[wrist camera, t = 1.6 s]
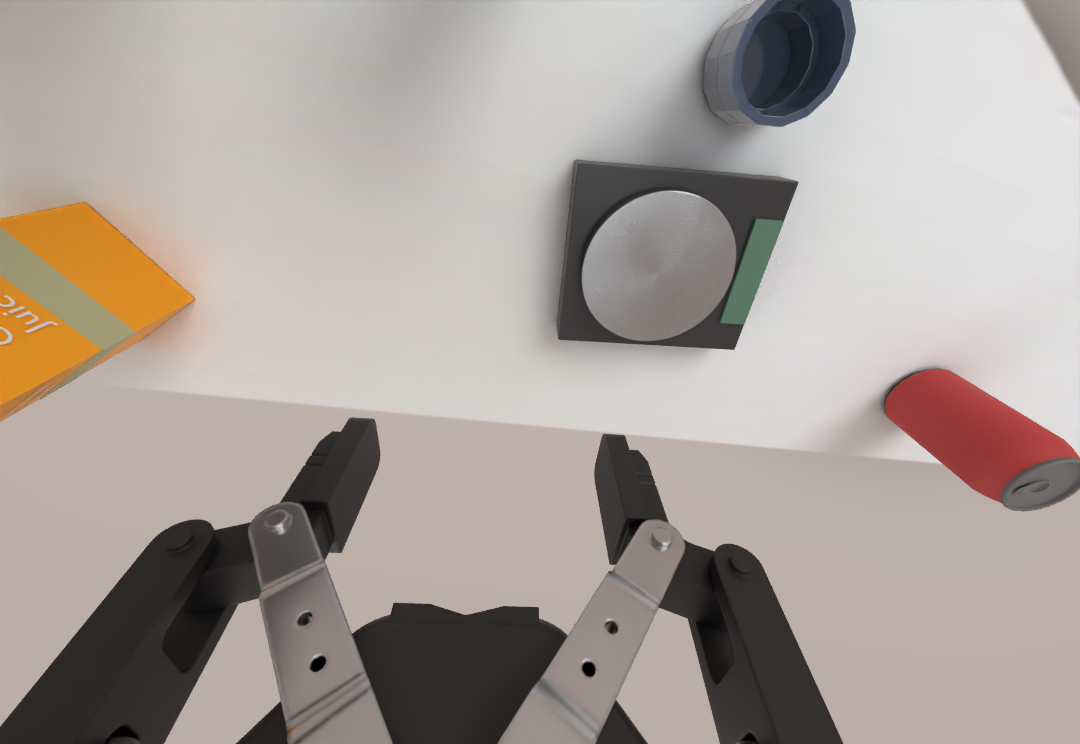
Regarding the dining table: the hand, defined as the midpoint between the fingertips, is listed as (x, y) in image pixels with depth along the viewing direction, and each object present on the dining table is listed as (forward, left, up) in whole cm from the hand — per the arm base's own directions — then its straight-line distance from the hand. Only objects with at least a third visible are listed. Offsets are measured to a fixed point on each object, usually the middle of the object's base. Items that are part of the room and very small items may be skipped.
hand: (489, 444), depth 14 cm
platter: (-1, +11, -18) cm, 21 cm away
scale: (-1, +12, -21) cm, 24 cm away
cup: (-14, +15, -21) cm, 29 cm away
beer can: (+10, +41, -21) cm, 47 cm away
